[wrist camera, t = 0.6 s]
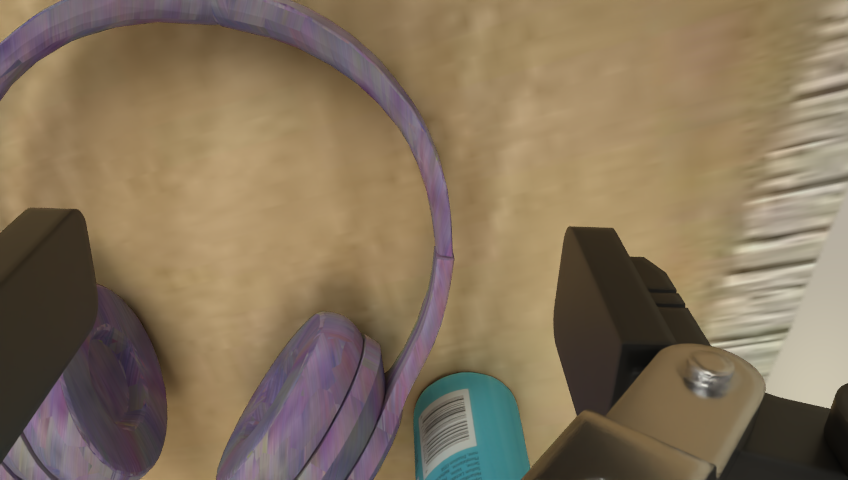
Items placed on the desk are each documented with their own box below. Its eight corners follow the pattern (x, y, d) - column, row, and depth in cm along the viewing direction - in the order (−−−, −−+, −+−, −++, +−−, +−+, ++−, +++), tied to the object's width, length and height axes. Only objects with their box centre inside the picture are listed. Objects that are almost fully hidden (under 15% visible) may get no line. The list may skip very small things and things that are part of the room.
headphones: (407, 458, 36) (479, 20, 30) (410, 587, 28) (509, 30, 22) (5, 415, 35) (-4, -55, 29) (-109, 539, 27) (-154, -73, 21)
